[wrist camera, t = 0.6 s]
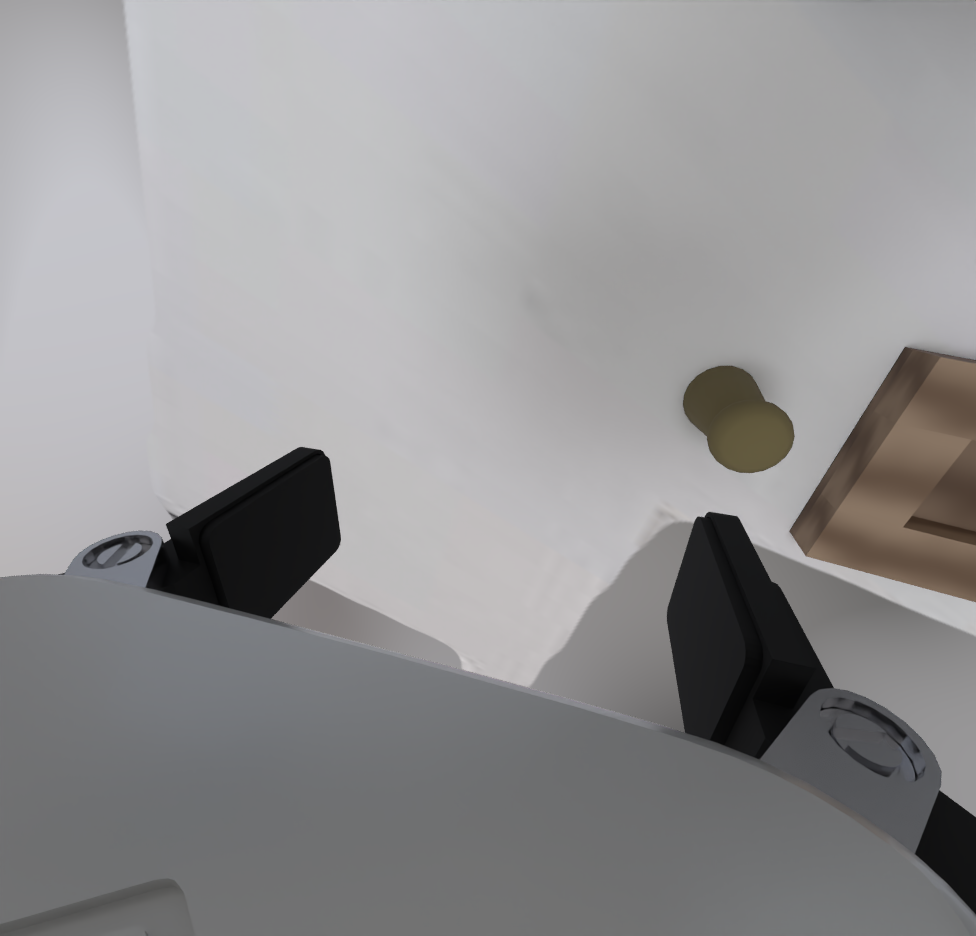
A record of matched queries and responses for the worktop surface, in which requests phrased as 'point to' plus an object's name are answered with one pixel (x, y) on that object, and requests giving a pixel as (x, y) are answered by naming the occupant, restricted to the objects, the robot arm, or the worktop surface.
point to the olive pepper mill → (738, 420)
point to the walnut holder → (905, 481)
